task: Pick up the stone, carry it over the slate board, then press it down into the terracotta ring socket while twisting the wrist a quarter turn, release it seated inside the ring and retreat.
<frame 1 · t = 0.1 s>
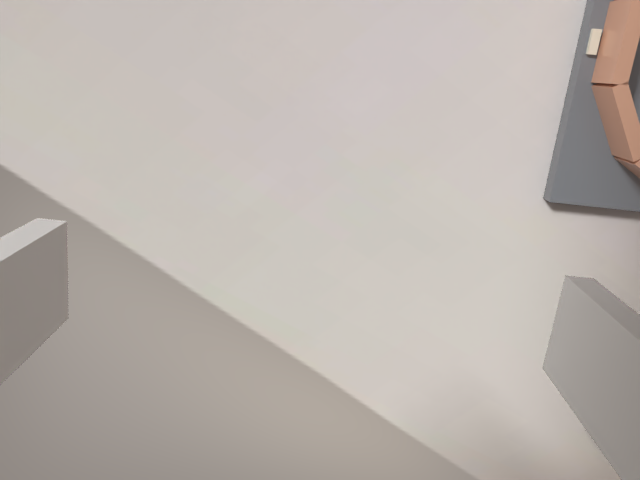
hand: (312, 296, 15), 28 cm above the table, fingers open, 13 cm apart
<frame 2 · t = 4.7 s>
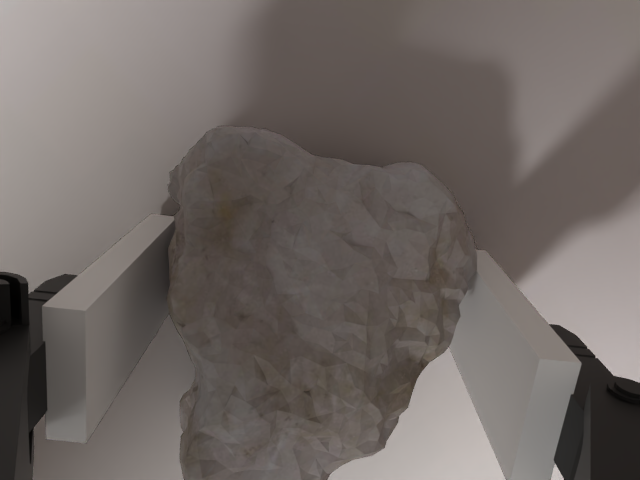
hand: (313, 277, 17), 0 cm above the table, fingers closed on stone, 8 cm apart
stone: (287, 284, 17), on the table, touching gripper
when the fingers open (2 cm above the table, at t = 10.7 s): stone stays where it is, resting on socket.
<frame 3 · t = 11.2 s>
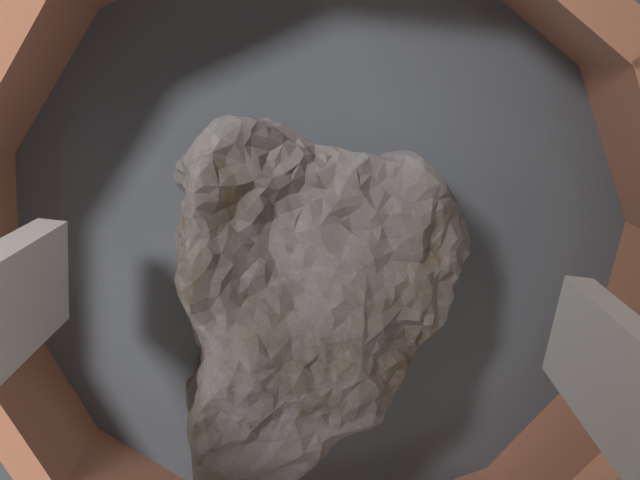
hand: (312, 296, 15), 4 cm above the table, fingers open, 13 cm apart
socket: (315, 252, 19), on the table
stone: (288, 271, 18), point 1 cm above the table, touching socket
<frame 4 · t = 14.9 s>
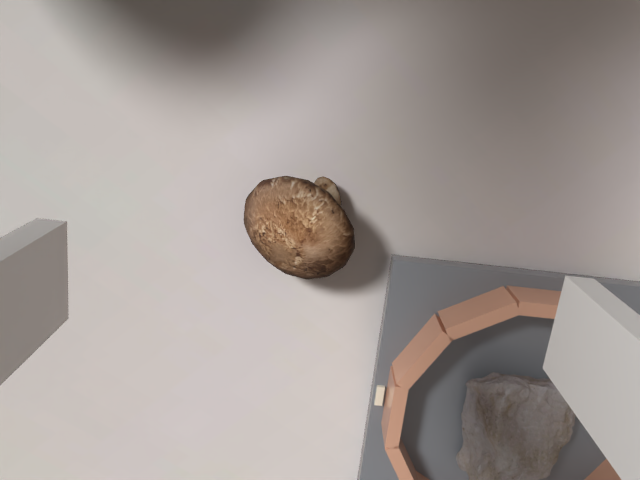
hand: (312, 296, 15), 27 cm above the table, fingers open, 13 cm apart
socket: (508, 399, 46), on the table
mushroom: (300, 217, 43), on the table
stone: (498, 410, 46), point 1 cm above the table, touching socket
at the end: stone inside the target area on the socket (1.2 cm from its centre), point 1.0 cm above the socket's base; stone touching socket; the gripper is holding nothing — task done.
